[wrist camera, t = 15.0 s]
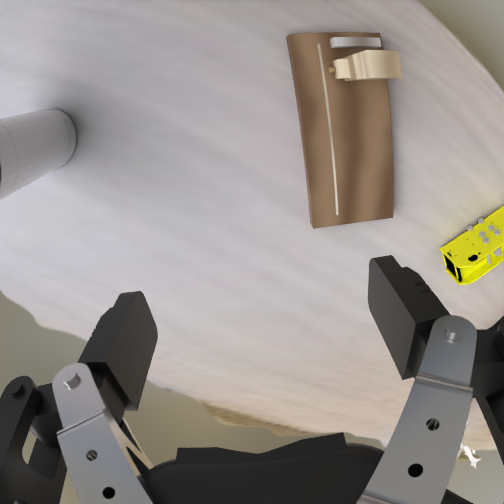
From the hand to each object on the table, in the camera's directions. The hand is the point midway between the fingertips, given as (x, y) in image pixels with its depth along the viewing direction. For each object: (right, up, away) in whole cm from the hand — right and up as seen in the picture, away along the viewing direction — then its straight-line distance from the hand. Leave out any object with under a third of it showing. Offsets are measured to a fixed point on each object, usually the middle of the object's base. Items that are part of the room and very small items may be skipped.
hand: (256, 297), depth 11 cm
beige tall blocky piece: (+13, +24, +23) cm, 36 cm away
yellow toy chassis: (+39, +5, +36) cm, 53 cm away
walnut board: (+12, +18, +28) cm, 36 cm away
